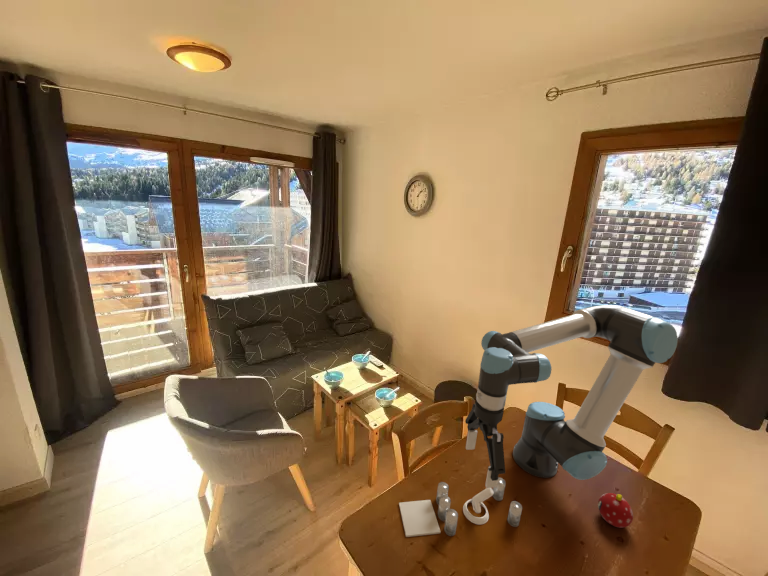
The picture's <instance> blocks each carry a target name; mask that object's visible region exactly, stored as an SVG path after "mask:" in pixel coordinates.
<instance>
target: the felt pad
mask: <svg viewBox="0 0 768 576" xmlns="http://www.w3.org/2000/svg"><path fill="white" fill-rule="evenodd" d="M398 505H399V509H400V511H399V512H400V516H401V520H402V524H403V530H404V534H405V538H410V537H418V536H427V535H437V534H441V529H440V525H439V523H438V520H437V516H436V513H435V510H434V507H433V504H432V501H431V499H425V500H423V499H422V500H414V501H413V500H412V501H404V502H398Z"/></svg>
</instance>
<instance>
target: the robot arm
mask: <svg viewBox="0 0 768 576" xmlns="http://www.w3.org/2000/svg"><path fill="white" fill-rule="evenodd" d="M595 337H598V338H601V339H605V340H607V341H609V342H610V343H608V346H607V348H608V350H609V356H608V358H607V359H606V361H605V364H604V365H603V366H602V369H601V371H600V372H599V374H598V376H597V378H596V379H595V381H594V383H593V385H592V386H591V387H590V389H589V391H588V393H587V395H586V397H585V398H584V400H583V401H582V403H581V406H580V407H579V409H578V411H577V413H576V414H575V416H574V417H573V418H572V419H567V420H566V421H565V418H566V416H565V414H566V413H565V411H564V410H563V409H562V408H561V407H559V406H557V405H555V404H553V403H550V402H546V401H534V402H532V403H530V404H529V405H528V407H527V409H526V412H525V417H524V422H523V426H522V427H523V429H522V431H521V437H520V438H519V439H518V441H517V442H516V443H515V444H514V447H513V451H512V457H513V460H514V462H515V463H516V465H518V466H519V468H521V469H522V470H523V471H524V472H526V473H528V474H530V475H532V476H535V477H538V478H542V479H545V478H547V479H548V478H552V477H554V476H556V475H557V472H558V468H559V465H560V466H561V468H562V469H563V470H564V471H566V472H567V473H568V474H569V475H570V476H571V477H572V478H574V479H576V480H579V481H583V480H584V481H587V480H589V479H592V478H594V477H596V476H597V475H599V474H600V473H601V472H602V471H603V470H604V469H605V468H606V467H607V464H608V458H607V456H606V454H605V453H604V452H603V451H604V450H605V447H606V446H607V444H606V441H605V439H604V437H605V435H606V433H607V432H608V430H609V429H610V427H611V425H612V423H613V421H614V420H615V418H616V417H617V415H618V413H619V411H620V410H621V408H622V406H623V405H624V403H625V401H626V400H627V398H628V396H629V394H630V393H631V391H632V390H633V388H634V387H635V384H636V383H637V382H638V380H639V378H640V376H641V374H642V373H643V371H644V370H646V369H651V368H653V367H654V366H655V365H656V364H663V363H666V362H667V361H668V360H669V359H671V358H672V357H673V355H674V353H675V351H676V349H677V346H678V339H679V338H678V334H677V329H676V328H675V327H674V326H673V325H672V324H671V323H669V322H668V321H665V320H663V319H660V318H658V317H656V316H652V315H649V314H646V313H643V312H640V311H637V310H634V309H631V308H629V307H626V306H622V305H617V304H603V305H595V306H594V305H593V306H589V307H584V308H581V309H577V310H575V311H574V312H573V313H572V314H571V315H566V316H563V317H559V318H555V319H552V320H549V321H545V322H542V323H538V324H534V325H531V326H527V327H524V328H521V329H518V330H513V331H509V332H506V333H505V332H504V333H501V332H499V331H496V330H490V331H488V332H486V333H485V334H483V336H482V338H481V342H480V343H481V345H480V346H481V348H482V350H483V353H482V357H481V361H480V365H479V367H480V369H479V376H478V384H477V391H476V393H475V397H476V398H475V401H474V402H475V403H473V404H472V407H471V410H470V411H469V414H468V415H467V417H466V418H465V421H464V422H465V425H467V426H466V427H467V436H466V442H465V449H466V450H467V451H468V450H469V451H470V450H475V449H476V444H477V438H478V437H477V436H478V430H480V432H482V434H483V435H482V436H483V441H484V442H486V449H487V454H488V460H489V465H488V467H487V473H486V480H485V484H484V485H485V489H486V488H492V489H493V488H494V487H496V483H497V480H498V477H499V475H505V474H506V465H505V452H504V449H505V448H504V438H505V437H504V433H502V432H501V433H500V432H499V431H498V424H499V423H500V422H501V421H502V420H503V417H504V411H505V405H506V400H507V394H508V389H509V386H510V385H512V386H513V385H518V384H529V383H530V384H531V383H535V384H536V383H538V382H542V381H547V380H548V379H549V378H551V375H552V364H551V361H550V360H549V358H548V357H547V356H546V355H545V354H543V353H536V352H535V351H537V350H542V349H544V348H545V349H546V348H548V347H549V348H550V347H552V346H555V345H558V344H562V343H566V342H569V341H572V340H576V339H579V338H584V339H591V338H595ZM531 352H533V353H531Z"/></svg>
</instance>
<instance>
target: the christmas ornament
mask: <svg viewBox="0 0 768 576" xmlns="http://www.w3.org/2000/svg"><path fill="white" fill-rule="evenodd" d="M597 507H598V508H597V509H598V512H599V513H600V515H601V517H602V519H604V520H605V521H606V523H608V524H609V525H611V526H613V527H616V528H620V529H621V528H623V529H624V528H627V527H629V526H630V525H631V524H632V522H633V520H634V513H633V509H632V507H631V505H630V504H629V502H628V501H627V500H626V499H625V498H624V497H623V495H622V494H619V493H617V494H616V493H613V492H608V493H604V494H602V495H601V496H599V499H598V501H597Z"/></svg>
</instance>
